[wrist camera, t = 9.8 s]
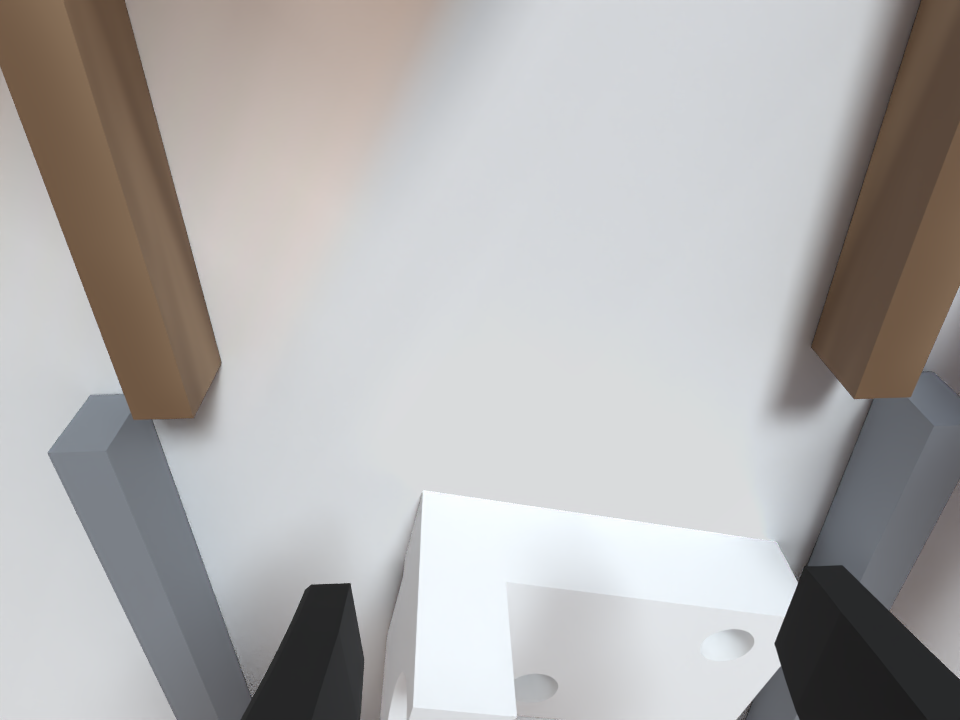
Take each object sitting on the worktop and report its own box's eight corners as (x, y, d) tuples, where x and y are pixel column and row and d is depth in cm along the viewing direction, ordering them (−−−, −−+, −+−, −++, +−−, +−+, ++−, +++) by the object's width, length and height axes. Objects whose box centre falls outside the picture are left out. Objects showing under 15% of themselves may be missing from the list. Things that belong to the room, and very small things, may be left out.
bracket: (389, 614, 26) (369, 835, 20) (423, 484, 22) (413, 706, 16) (695, 648, 28) (765, 859, 22) (773, 535, 25) (885, 750, 18)
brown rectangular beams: (1172, -502, 11) (1348, -603, 9) (861, 345, 20) (911, 397, 17) (-115, -513, 10) (-260, -622, 8) (168, 364, 19) (133, 419, 17)
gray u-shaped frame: (932, 371, 20) (988, 424, 18) (763, 750, 33) (784, 807, 31) (90, 395, 20) (47, 452, 17) (245, 773, 32) (231, 832, 30)
